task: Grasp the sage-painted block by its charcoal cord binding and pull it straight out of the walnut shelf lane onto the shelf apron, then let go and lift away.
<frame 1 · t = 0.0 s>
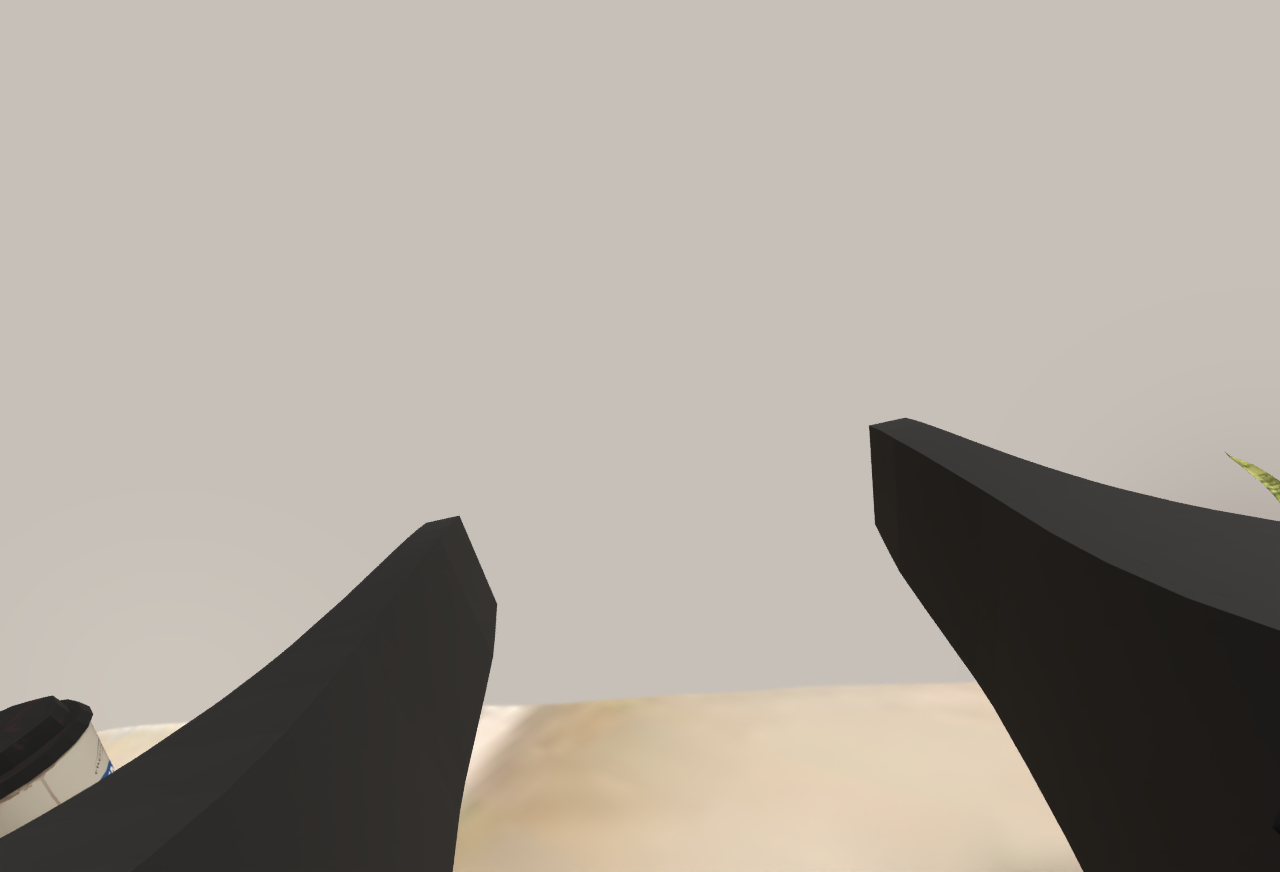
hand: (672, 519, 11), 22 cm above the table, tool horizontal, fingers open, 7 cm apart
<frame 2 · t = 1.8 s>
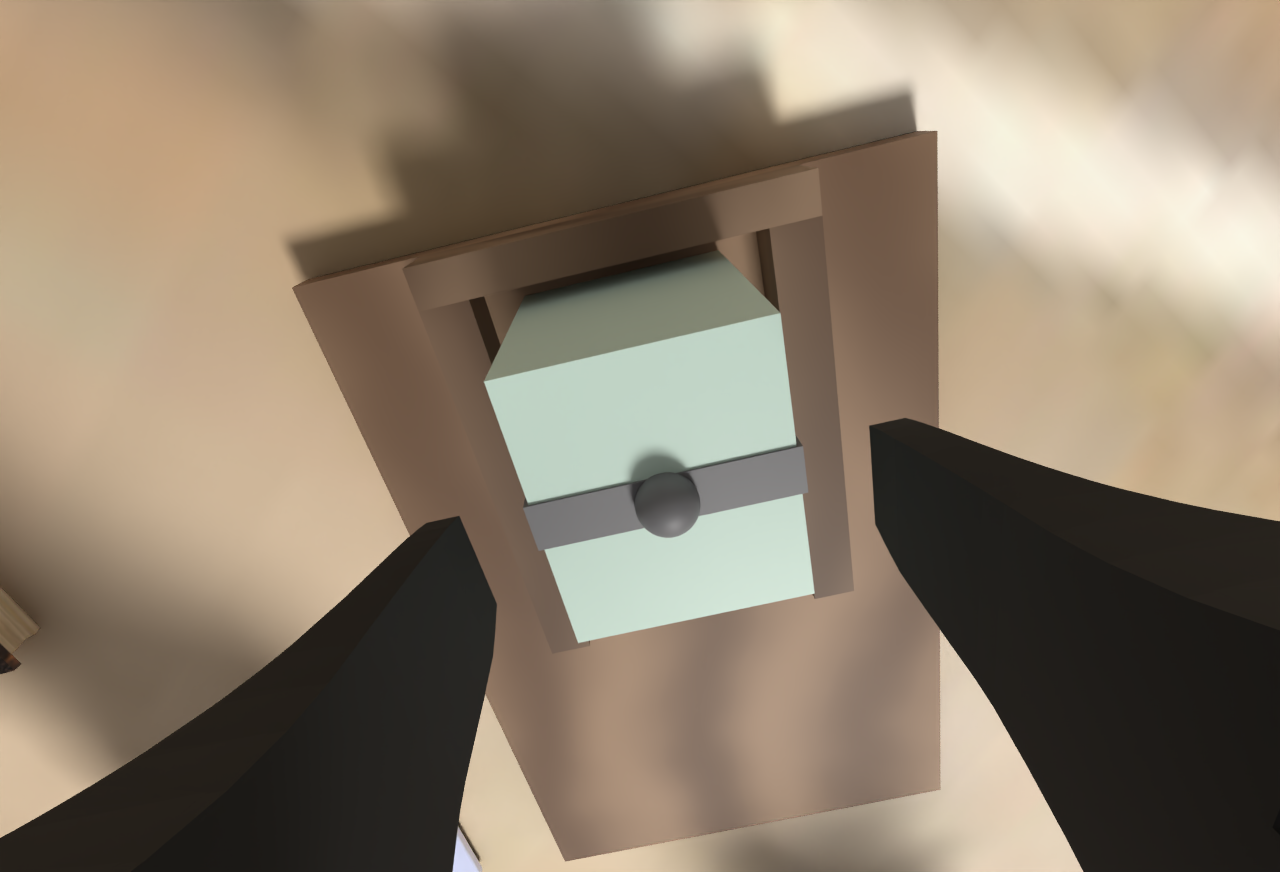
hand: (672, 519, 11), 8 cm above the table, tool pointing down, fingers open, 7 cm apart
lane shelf: (693, 581, 21), on the table
sage block: (646, 381, 17), point 1 cm above the table, touching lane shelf
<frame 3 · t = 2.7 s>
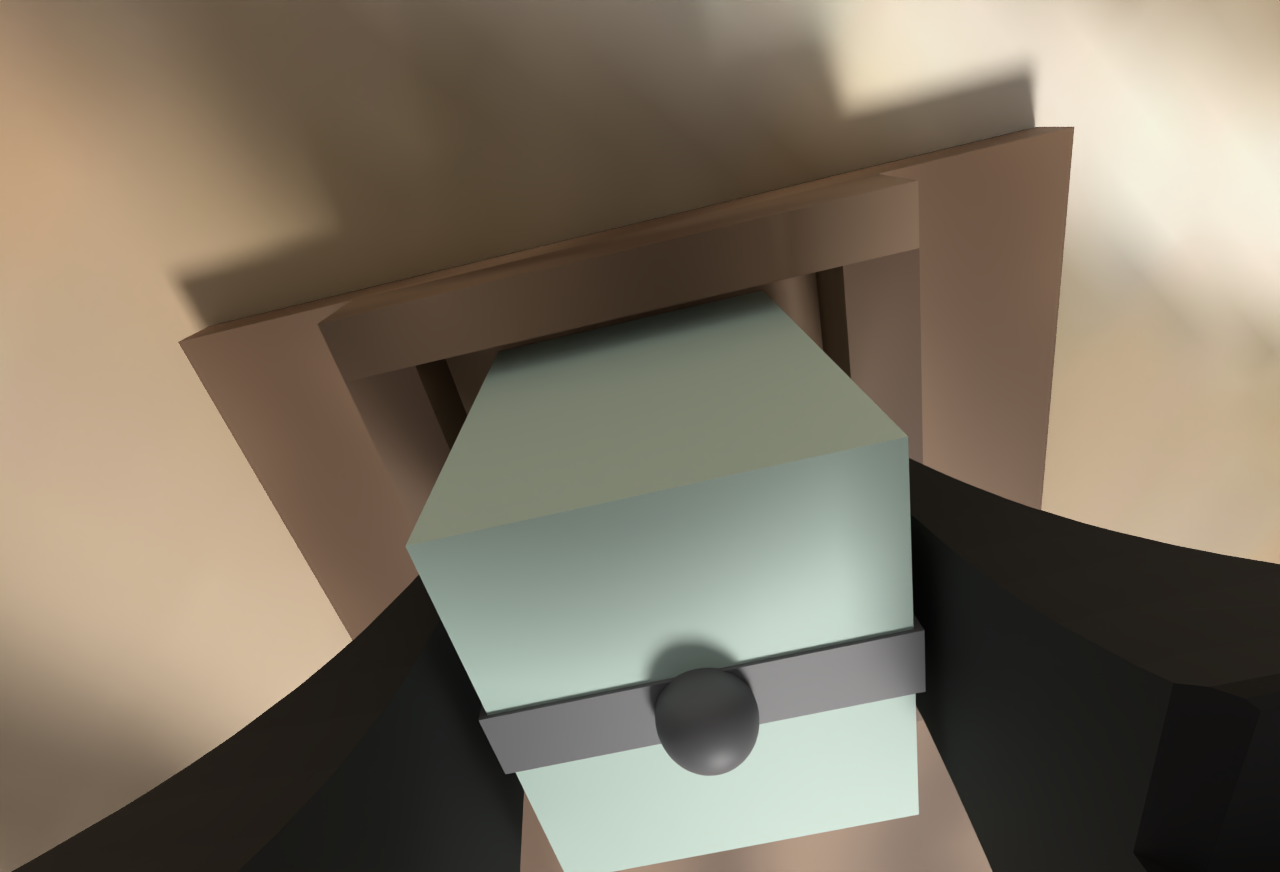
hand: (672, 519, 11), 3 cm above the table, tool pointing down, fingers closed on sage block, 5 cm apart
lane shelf: (716, 687, 17), on the table
sage block: (661, 460, 13), point 1 cm above the table, touching gripper, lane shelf
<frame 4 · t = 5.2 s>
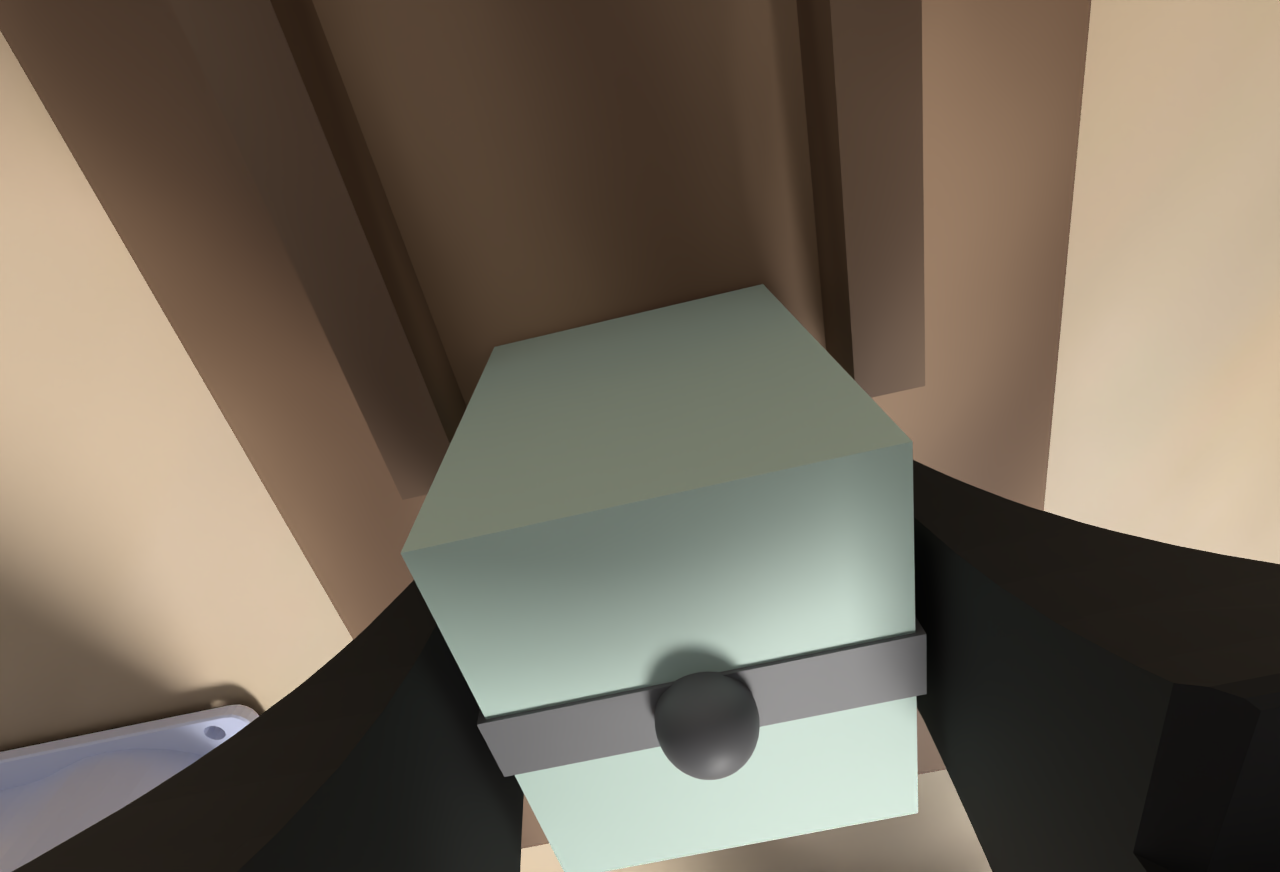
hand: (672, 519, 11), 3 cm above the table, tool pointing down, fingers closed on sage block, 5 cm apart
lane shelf: (653, 411, 13), on the table
sage block: (660, 455, 13), point 1 cm above the table, touching gripper
when the fingers open (3 cm above the table, at t = 7.8 s): sage block stays where it is, resting on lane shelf.
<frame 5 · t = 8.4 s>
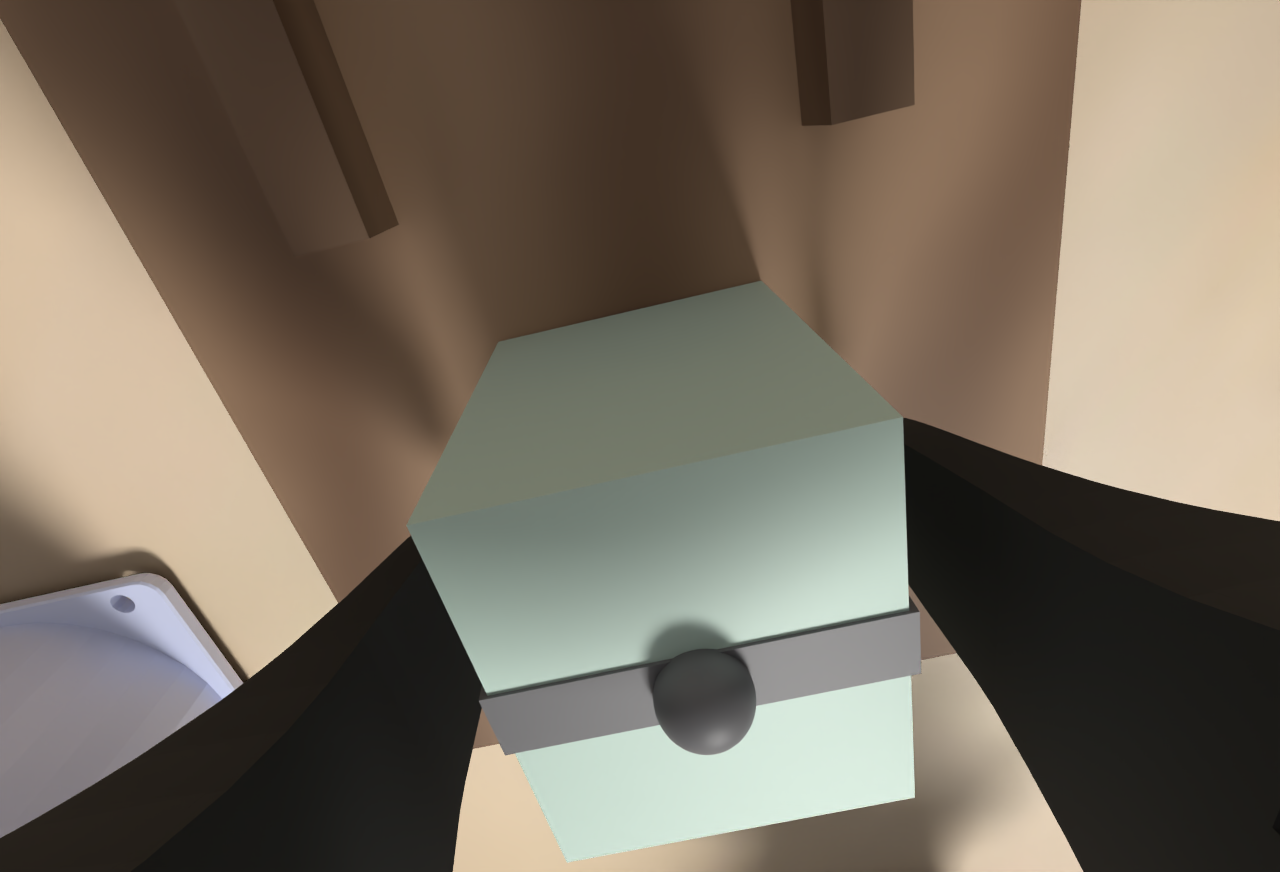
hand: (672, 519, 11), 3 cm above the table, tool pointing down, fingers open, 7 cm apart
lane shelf: (604, 200, 12), on the table
sage block: (661, 450, 13), point 1 cm above the table, touching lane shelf
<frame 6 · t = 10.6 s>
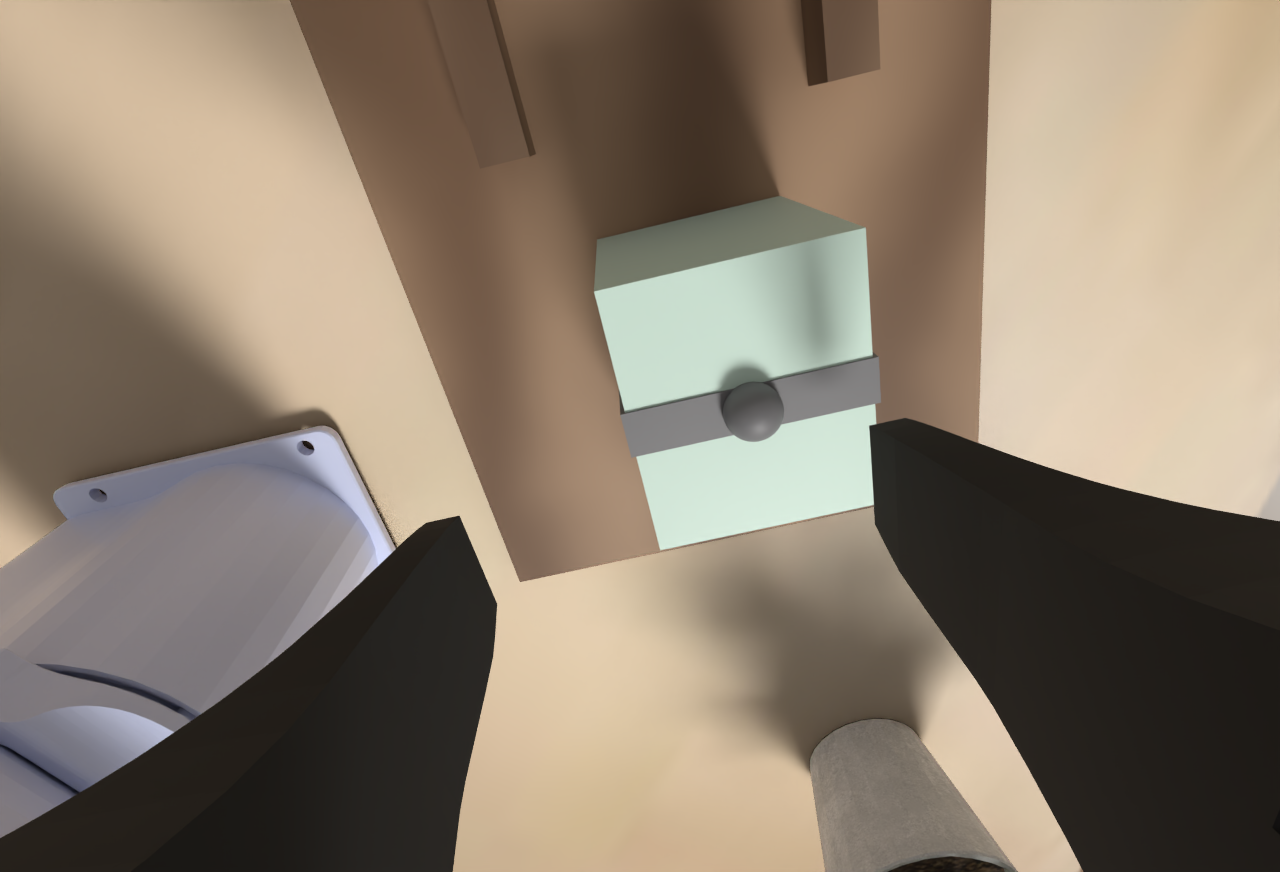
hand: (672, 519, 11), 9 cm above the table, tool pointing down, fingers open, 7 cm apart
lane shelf: (670, 141, 17), on the table
sage block: (706, 324, 18), point 1 cm above the table, touching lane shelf
house plant: (889, 740, 28), on the table
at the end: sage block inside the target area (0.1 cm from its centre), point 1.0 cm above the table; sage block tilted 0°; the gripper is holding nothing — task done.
